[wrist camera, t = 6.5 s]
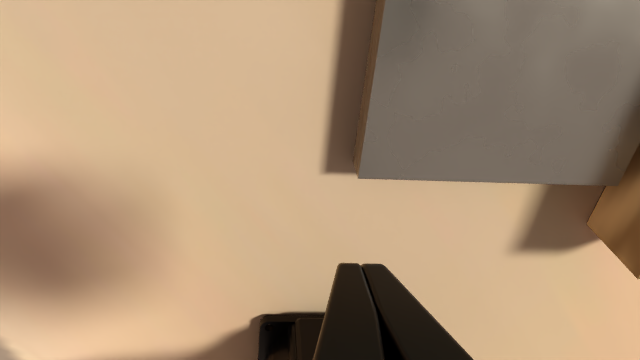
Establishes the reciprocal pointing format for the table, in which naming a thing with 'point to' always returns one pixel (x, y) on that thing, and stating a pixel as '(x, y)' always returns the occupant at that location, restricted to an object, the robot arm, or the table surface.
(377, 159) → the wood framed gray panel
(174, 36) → the table surface
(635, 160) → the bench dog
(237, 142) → the table surface
